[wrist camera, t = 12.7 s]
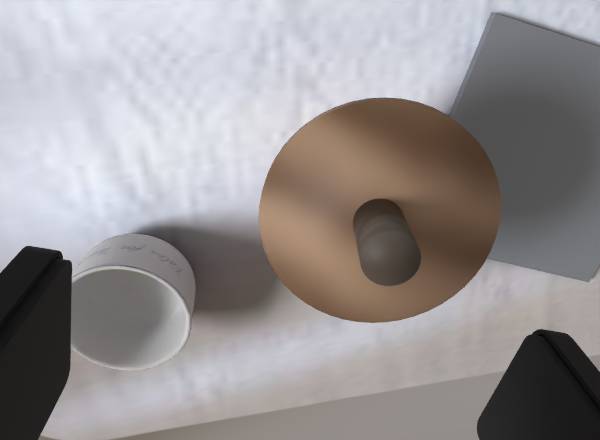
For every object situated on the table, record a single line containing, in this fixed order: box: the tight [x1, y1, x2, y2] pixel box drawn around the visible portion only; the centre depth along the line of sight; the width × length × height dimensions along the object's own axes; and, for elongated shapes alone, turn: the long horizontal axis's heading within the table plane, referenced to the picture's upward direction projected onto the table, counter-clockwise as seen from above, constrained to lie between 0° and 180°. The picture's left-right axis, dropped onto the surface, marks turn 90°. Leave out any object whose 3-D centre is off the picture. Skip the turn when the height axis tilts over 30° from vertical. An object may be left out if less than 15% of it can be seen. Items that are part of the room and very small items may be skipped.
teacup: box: [71, 234, 196, 370], centre depth 42 cm, size 14×11×8 cm
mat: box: [449, 13, 600, 282], centre depth 42 cm, size 20×20×1 cm
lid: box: [259, 98, 501, 323], centre depth 28 cm, size 15×15×6 cm
